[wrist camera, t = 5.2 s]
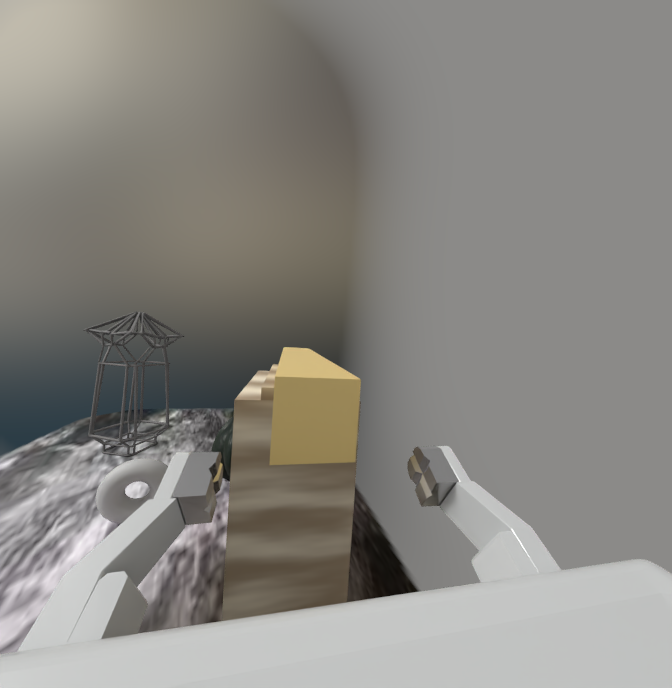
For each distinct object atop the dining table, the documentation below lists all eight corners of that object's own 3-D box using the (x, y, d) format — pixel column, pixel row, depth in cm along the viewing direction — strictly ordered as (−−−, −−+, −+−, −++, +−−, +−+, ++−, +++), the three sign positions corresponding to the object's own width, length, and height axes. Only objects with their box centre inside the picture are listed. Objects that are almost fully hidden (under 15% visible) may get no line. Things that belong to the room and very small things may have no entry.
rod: (355, 462, 10) (360, 379, 10) (269, 465, 10) (274, 376, 10) (307, 372, 36) (308, 348, 36) (282, 371, 35) (283, 347, 35)
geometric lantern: (69, 457, 57) (79, 306, 57) (135, 433, 73) (142, 314, 73) (127, 466, 54) (136, 307, 55) (182, 440, 70) (190, 316, 70)
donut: (89, 537, 36) (92, 469, 36) (99, 521, 39) (102, 458, 39) (170, 520, 40) (173, 459, 40) (174, 507, 43) (177, 450, 43)
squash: (256, 477, 44) (280, 401, 54) (184, 467, 47) (219, 397, 57) (279, 493, 55) (296, 428, 65) (219, 484, 58) (244, 423, 67)
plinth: (340, 701, 21) (361, 389, 21) (215, 729, 19) (235, 386, 19) (317, 546, 37) (329, 366, 36) (247, 553, 35) (259, 363, 35)
